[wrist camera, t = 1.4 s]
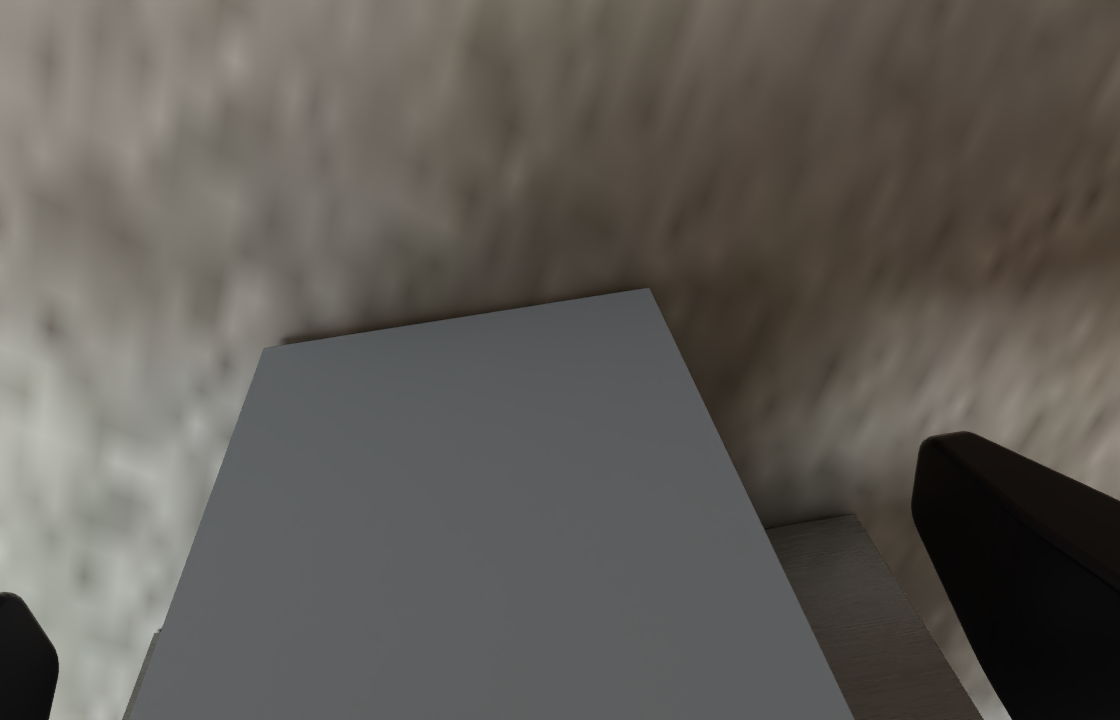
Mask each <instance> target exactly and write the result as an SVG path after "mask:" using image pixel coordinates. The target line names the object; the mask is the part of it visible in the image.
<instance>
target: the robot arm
mask: <svg viewBox="0 0 1120 720" xmlns="http://www.w3.org/2000/svg"><path fill="white" fill-rule="evenodd" d="M911 509H912V516H913V520H914V523H915V526H916V528H917V531H918V533H919V535H920V537H921V539H922V541H923V544H924V546H925V548H926V550H927V552H928V554H929V556H930V559H931V561H932V563H933V565H934V567H935V569H936V572H937V574H938V576H939V578H940V580H941V582H942V585H943V587H944V589H945V591H946V593H947V595H948V597H949V600H950V602H951V604H952V606H953V608H954V610H955V613H956V615H957V617H958V619H959V621H960V623H961V626H962V628H963V630H964V632H965V634H966V636H967V638H968V641H969V643H970V645H971V647H972V649H973V651H974V653H975V655H976V657H977V659H978V661H979V663H980V665H981V667H982V669H983V671H984V672H985V674H986V676H987V678H988V680H989V681H990V683H991V685H992V687H993V688H994V690H995V692H996V694H997V695H998V697H999V699H1000V700H1001V702H1002V704H1003V705H1004V707H1005V709H1006V710H1007V712H1008V714H1009V715H1010V717H1011V719H1012V720H1120V501H1119V500H1117V499H1115V498H1113V497H1110V496H1108V495H1106V494H1104V493H1102V492H1100V491H1097V490H1095V489H1093V488H1091V487H1089V486H1087V485H1085V484H1082V483H1080V482H1078V481H1076V480H1074V479H1072V478H1069V477H1067V476H1065V475H1063V474H1061V473H1059V472H1056V471H1054V470H1052V469H1050V468H1048V467H1046V466H1043V465H1041V464H1039V463H1037V462H1035V461H1033V460H1030V459H1028V458H1026V457H1024V456H1022V455H1020V454H1018V453H1015V452H1013V451H1011V450H1009V449H1007V448H1005V447H1002V446H1000V445H998V444H996V443H994V442H992V441H989V440H987V439H985V438H983V437H981V436H979V435H976V434H974V433H971V432H967V431H960V432H954V433H948V434H942V435H936V436H931V437H928V438H927V439H925V440H924V441H923V442H922V444H921V445H920V449H919V452H918V459H917V466H916V473H915V479H914V486H913V493H912V500H911ZM58 673H59V662H58V656H57V653H56V650H55V648H54V646H53V644H52V643H51V641H50V640H49V638H48V637H47V635H46V634H45V632H44V631H43V629H42V628H41V626H40V625H39V623H38V622H37V620H36V618H35V617H34V615H33V614H32V612H31V611H30V609H29V608H28V606H27V605H26V603H25V602H24V601H23V600H22V598H21V597H19V596H17V595H16V594H14V593H9V592H1V593H0V720H49V716H50V711H51V707H52V702H53V698H54V693H55V689H56V684H57V680H58Z"/></svg>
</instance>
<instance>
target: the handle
mask: <svg viewBox="0 0 1120 720" xmlns="http://www.w3.org/2000/svg"><path fill="white" fill-rule="evenodd" d="M129 720H855V719H854V717H853V715H852V713H851V711H850V709H849V707H848V705H847V703H846V701H845V698H844V696H843V694H842V692H841V690H840V688H839V686H838V684H837V682H836V680H835V677H834V675H833V673H832V671H831V669H830V667H829V665H828V663H827V661H826V658H825V656H824V654H823V652H822V650H821V648H820V646H819V644H818V642H817V640H816V637H815V635H814V633H813V631H812V629H811V627H810V625H809V623H808V621H807V619H806V616H805V614H804V612H803V610H802V608H801V606H800V604H799V602H798V600H797V598H796V595H795V593H794V591H793V589H792V587H791V585H790V583H789V581H788V579H787V576H786V574H785V572H784V570H783V568H782V566H781V564H780V562H779V560H778V558H777V555H776V553H775V551H774V549H773V547H772V545H771V543H770V541H769V539H768V537H767V534H766V532H765V530H764V528H763V526H762V524H761V522H760V520H759V518H758V515H757V513H756V511H755V509H754V507H753V505H752V503H751V501H750V499H749V497H748V494H747V492H746V490H745V488H744V486H743V484H742V482H741V480H740V478H739V476H738V473H737V471H736V469H735V467H734V465H733V463H732V461H731V459H730V457H729V454H728V452H727V450H726V448H725V446H724V444H723V442H722V440H721V438H720V436H719V433H718V431H717V429H716V427H715V425H714V423H713V421H712V419H711V417H710V415H709V412H708V410H707V408H706V406H705V404H704V402H703V400H702V398H701V396H700V393H699V391H698V389H697V387H696V385H695V383H694V381H693V379H692V377H691V375H690V372H689V370H688V368H687V366H686V364H685V362H684V360H683V358H682V356H681V354H680V351H679V349H678V347H677V345H676V343H675V341H674V339H673V337H672V335H671V332H670V330H669V328H668V326H667V324H666V322H665V320H664V318H663V316H662V314H661V311H660V309H659V307H658V305H657V303H656V301H655V299H654V297H653V295H652V293H651V290H650V288H644V289H637V290H631V291H624V292H618V293H612V294H605V295H599V296H593V297H586V298H580V299H574V300H567V301H561V302H554V303H548V304H542V305H535V306H529V307H523V308H516V309H510V310H504V311H497V312H491V313H485V314H478V315H472V316H465V317H459V318H453V319H446V320H440V321H434V322H427V323H421V324H415V325H408V326H402V327H395V328H389V329H383V330H376V331H370V332H364V333H357V334H351V335H345V336H338V337H332V338H325V339H319V340H313V341H306V342H300V343H294V344H287V345H281V346H275V347H268V348H264V350H263V352H262V355H261V358H260V361H259V363H258V366H257V369H256V372H255V374H254V377H253V380H252V383H251V385H250V388H249V391H248V394H247V396H246V399H245V402H244V405H243V407H242V410H241V413H240V416H239V418H238V421H237V424H236V426H235V429H234V432H233V435H232V437H231V440H230V443H229V446H228V448H227V451H226V454H225V457H224V459H223V462H222V465H221V468H220V470H219V473H218V476H217V479H216V481H215V484H214V487H213V490H212V492H211V495H210V498H209V501H208V503H207V506H206V509H205V512H204V514H203V517H202V520H201V523H200V525H199V528H198V531H197V534H196V536H195V539H194V542H193V545H192V547H191V550H190V553H189V556H188V558H187V561H186V564H185V567H184V569H183V572H182V575H181V578H180V580H179V583H178V586H177V589H176V591H175V594H174V597H173V600H172V602H171V605H170V608H169V611H168V613H167V616H166V619H165V622H164V624H163V627H162V630H161V633H160V635H159V638H158V641H157V644H156V646H155V649H154V652H153V655H152V657H151V660H150V663H149V666H148V668H147V671H146V674H145V677H144V679H143V682H142V685H141V688H140V690H139V693H138V696H137V699H136V701H135V704H134V707H133V710H132V712H131V715H130V718H129Z"/></svg>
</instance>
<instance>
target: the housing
mask: <svg viewBox="0 0 1120 720" xmlns="http://www.w3.org/2000/svg"><path fill="white" fill-rule="evenodd" d="M764 530H765V532H766V534H767V537H768V539H769V541H770V543H771V545H772V547H773V549H774V551H775V553H776V555H777V558H778V560H779V562H780V564H781V566H782V568H783V570H784V572H785V574H786V576H787V579H788V581H789V583H790V585H791V587H792V589H793V591H794V593H795V595H796V598H797V600H798V602H799V604H800V606H801V608H802V610H803V612H804V614H805V616H806V619H807V621H808V623H809V625H810V627H811V629H812V631H813V633H814V635H815V637H816V640H817V642H818V644H819V646H820V648H821V650H822V652H823V654H824V656H825V658H826V661H827V663H828V665H829V667H830V669H831V671H832V673H833V675H834V677H835V680H836V682H837V684H838V686H839V688H840V690H841V692H842V694H843V696H844V698H845V701H846V703H847V705H848V707H849V709H850V711H851V713H852V715H853V717H854V719H855V720H984V719H983V718H982V716H981V715H980V713H979V711H978V710H977V708H976V707H975V705H974V703H973V702H972V700H971V699H970V697H969V695H968V694H967V692H966V691H965V689H964V687H963V686H962V684H961V683H960V681H959V679H958V678H957V676H956V675H955V673H954V671H953V670H952V668H951V667H950V665H949V663H948V662H947V660H946V659H945V657H944V655H943V654H942V652H941V651H940V649H939V647H938V646H937V644H936V643H935V641H934V639H933V638H932V636H931V635H930V633H929V631H928V630H927V628H926V627H925V625H924V623H923V622H922V620H921V619H920V617H919V615H918V614H917V612H916V611H915V609H914V607H913V606H912V604H911V603H910V601H909V599H908V598H907V596H906V595H905V593H904V591H903V590H902V588H901V587H900V585H899V583H898V582H897V580H896V579H895V577H894V575H893V574H892V572H891V571H890V569H889V567H888V566H887V564H886V563H885V561H884V559H883V558H882V556H881V555H880V553H879V551H878V550H877V548H876V547H875V545H874V543H873V542H872V540H871V539H870V537H869V535H868V534H867V532H866V531H865V529H864V527H863V526H862V524H861V523H860V521H859V519H858V518H857V516H856V515H855V514H850V515H845V516H839V517H833V518H827V519H821V520H815V521H810V522H804V523H798V524H792V525H786V526H780V527H774V528H769V529H764ZM160 633H161V632H160ZM160 633H154V636H153V638H152V641H151V644H150V646H149V649H148V652H147V654H146V657H145V660H144V662H143V665H142V668H141V671H140V673H139V676H138V679H137V681H136V684H135V687H134V689H133V692H132V695H131V697H130V700H129V703H128V706H127V708H126V711H125V714H124V716H123V719H122V720H129V718H130V715H131V712H132V710H133V707H134V704H135V701H136V699H137V696H138V693H139V690H140V688H141V685H142V682H143V679H144V677H145V674H146V671H147V668H148V666H149V663H150V660H151V657H152V655H153V652H154V649H155V646H156V644H157V641H158V638H159V635H160Z"/></svg>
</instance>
